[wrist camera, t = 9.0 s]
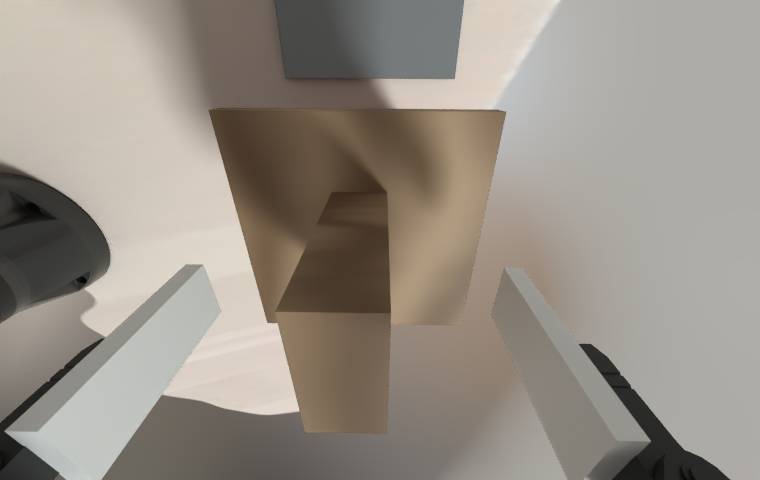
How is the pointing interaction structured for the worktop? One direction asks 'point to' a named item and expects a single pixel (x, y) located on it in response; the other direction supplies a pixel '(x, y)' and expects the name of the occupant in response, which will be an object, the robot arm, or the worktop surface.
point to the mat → (369, 38)
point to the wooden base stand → (357, 236)
